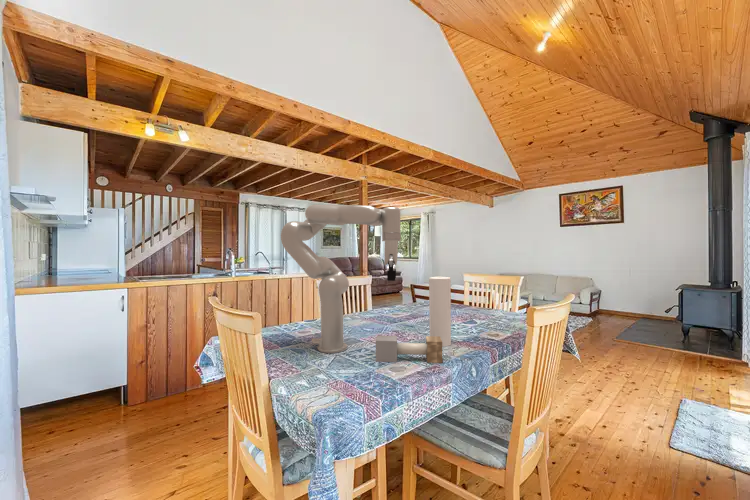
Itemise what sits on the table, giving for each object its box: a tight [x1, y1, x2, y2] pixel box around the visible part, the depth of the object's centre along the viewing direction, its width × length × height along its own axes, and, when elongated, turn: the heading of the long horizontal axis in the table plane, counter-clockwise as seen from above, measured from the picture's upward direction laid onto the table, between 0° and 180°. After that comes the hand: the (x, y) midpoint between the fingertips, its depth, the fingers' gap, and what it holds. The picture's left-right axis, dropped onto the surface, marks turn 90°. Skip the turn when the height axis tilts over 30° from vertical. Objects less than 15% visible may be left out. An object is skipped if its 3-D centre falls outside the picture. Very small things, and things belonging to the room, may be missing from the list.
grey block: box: [375, 335, 398, 363], centre depth 127 cm, size 8×7×8 cm
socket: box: [425, 335, 443, 364], centre depth 125 cm, size 6×7×8 cm
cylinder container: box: [428, 275, 452, 348], centre depth 146 cm, size 9×9×30 cm
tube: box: [397, 342, 427, 356], centre depth 126 cm, size 15×5×5 cm, turn 85°
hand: (391, 279), depth 133 cm, fingers open, 9 cm apart
